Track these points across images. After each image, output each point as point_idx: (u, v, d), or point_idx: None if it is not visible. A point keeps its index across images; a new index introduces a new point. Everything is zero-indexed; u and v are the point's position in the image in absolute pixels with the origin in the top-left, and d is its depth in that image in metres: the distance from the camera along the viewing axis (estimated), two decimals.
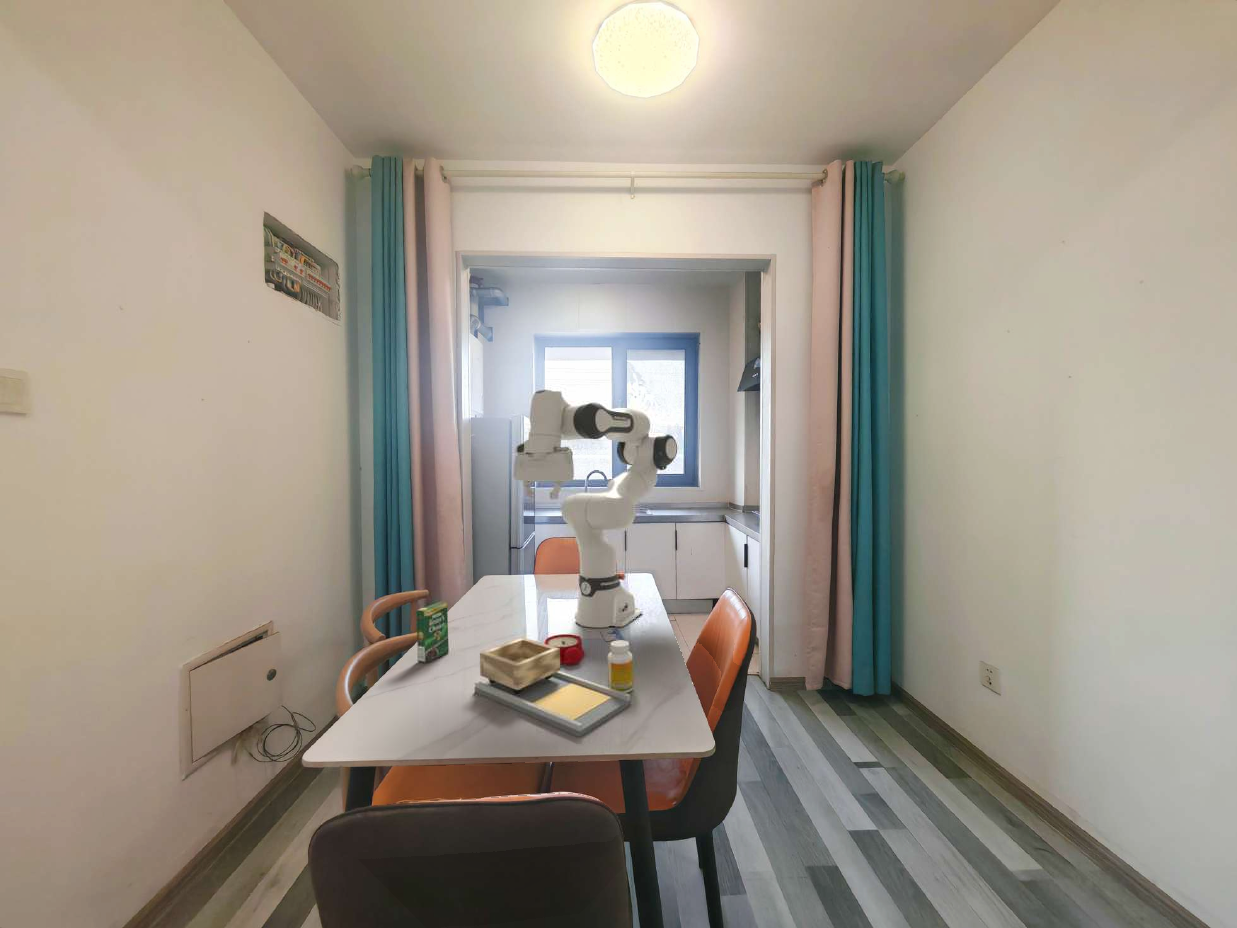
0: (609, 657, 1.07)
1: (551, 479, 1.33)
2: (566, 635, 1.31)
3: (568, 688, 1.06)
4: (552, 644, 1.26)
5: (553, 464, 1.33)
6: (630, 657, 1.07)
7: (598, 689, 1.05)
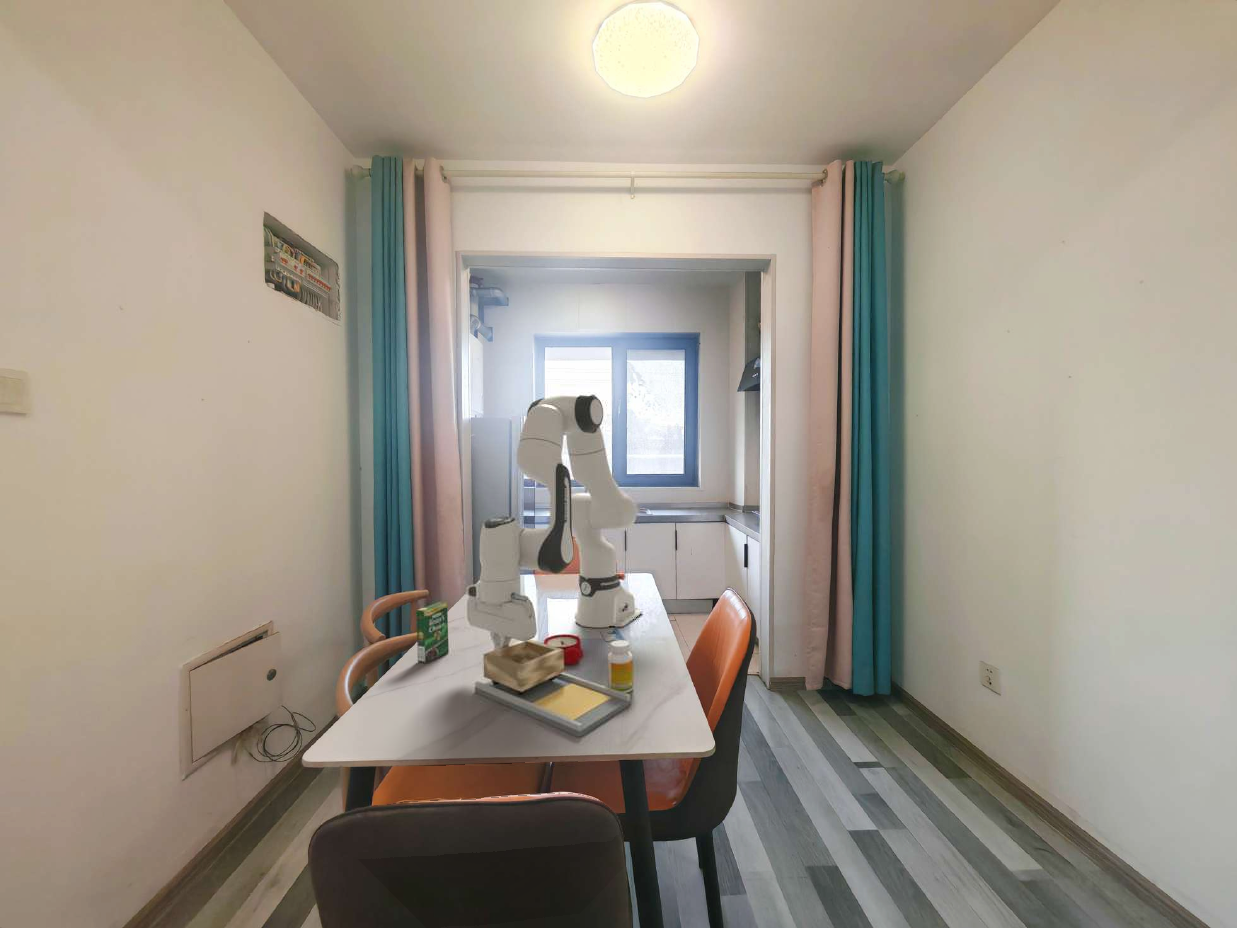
0: (609, 657, 1.07)
1: (510, 636, 1.09)
2: (565, 635, 1.31)
3: (568, 688, 1.06)
4: (551, 644, 1.26)
5: (510, 617, 1.09)
6: (630, 657, 1.07)
7: (598, 689, 1.05)
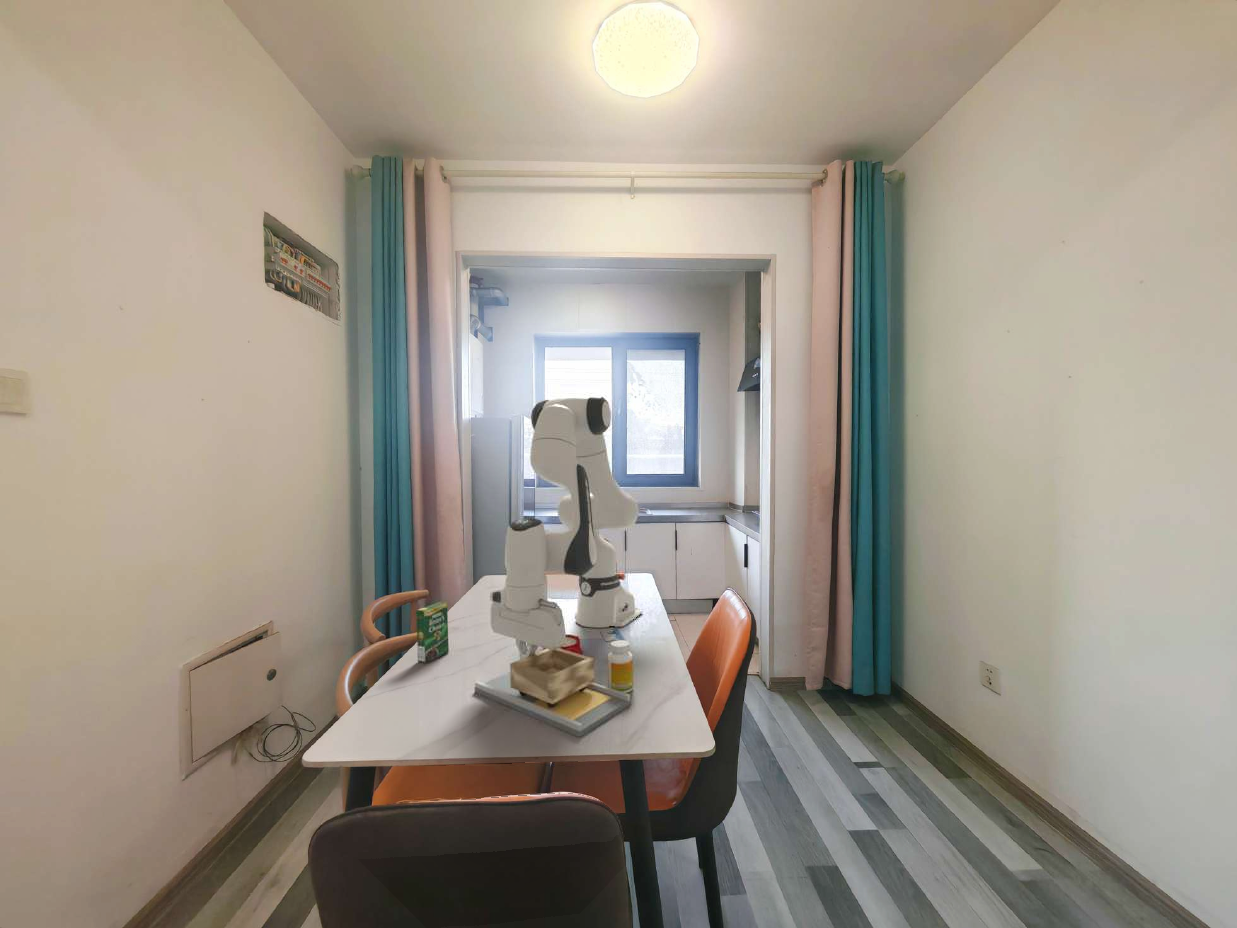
0: (609, 657, 1.07)
1: (537, 644, 1.04)
2: None
3: None
4: None
5: (538, 625, 1.04)
6: (630, 657, 1.07)
7: (598, 689, 1.05)
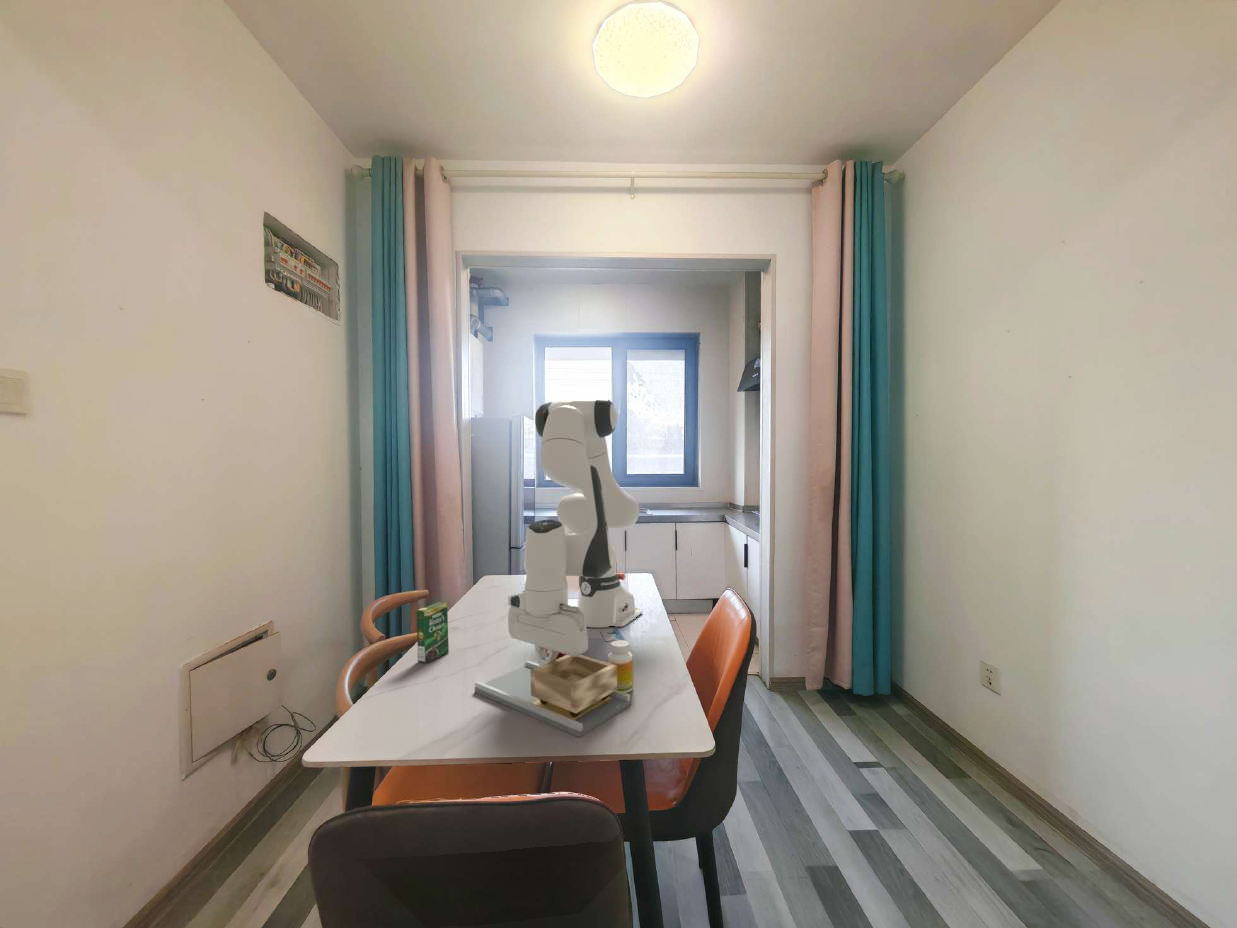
0: (609, 657, 1.07)
1: (558, 650, 1.00)
2: None
3: None
4: None
5: (559, 630, 1.00)
6: (630, 657, 1.07)
7: None
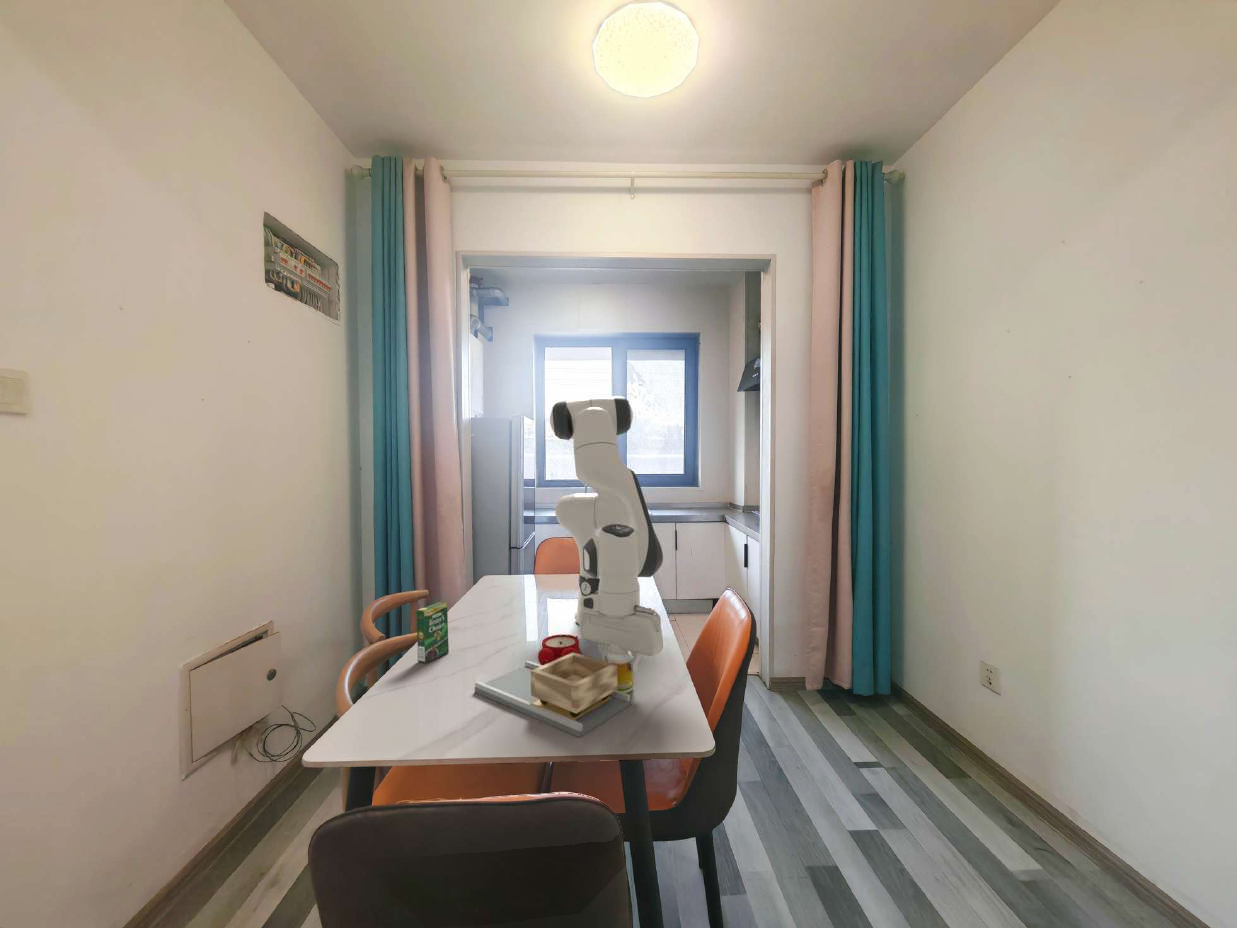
0: (609, 657, 1.07)
1: (634, 650, 1.03)
2: (564, 635, 1.31)
3: None
4: (549, 644, 1.26)
5: (635, 631, 1.04)
6: (630, 657, 1.07)
7: None
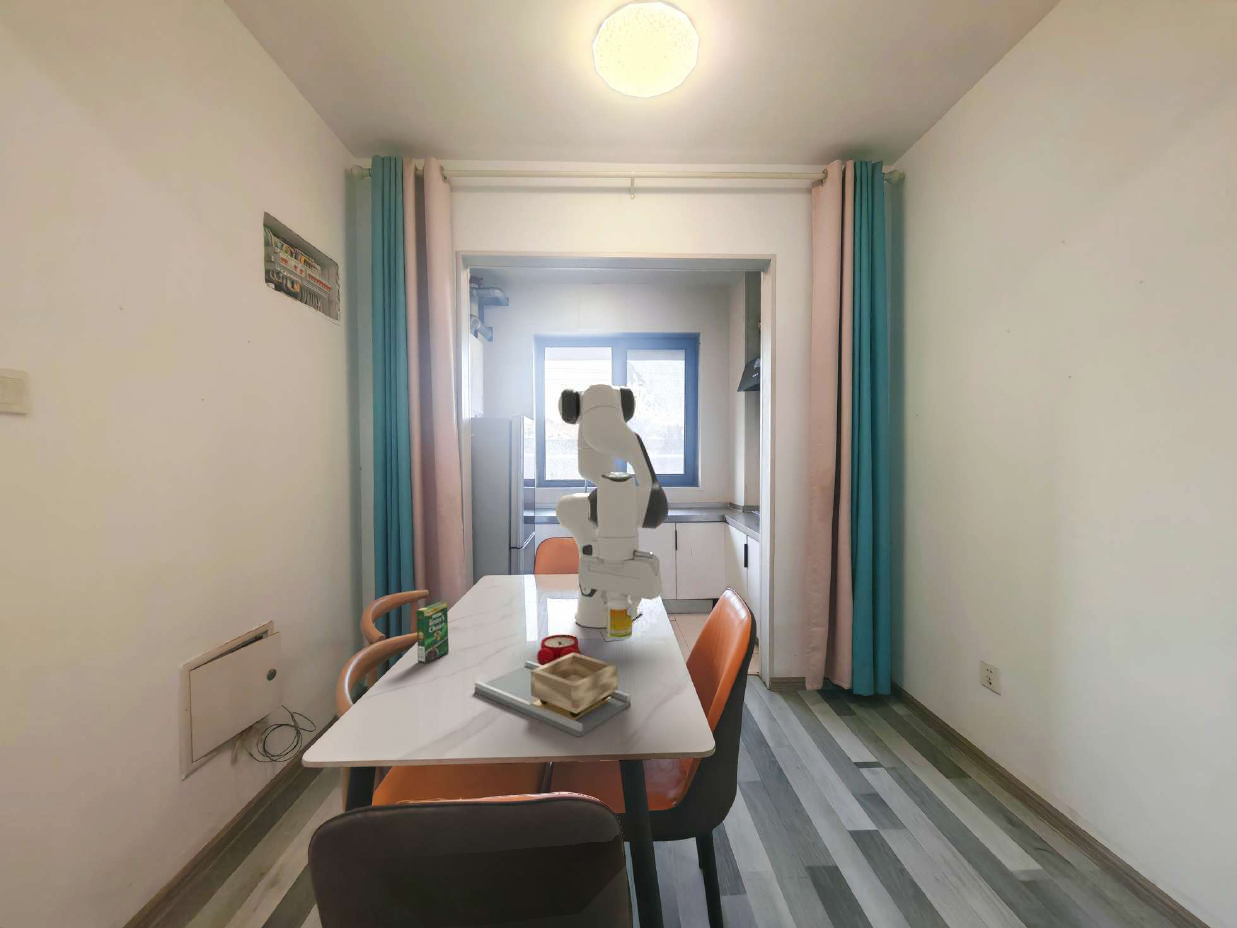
0: (608, 604, 1.07)
1: (633, 594, 1.03)
2: (563, 635, 1.31)
3: None
4: (548, 644, 1.26)
5: (634, 575, 1.03)
6: (629, 604, 1.07)
7: None
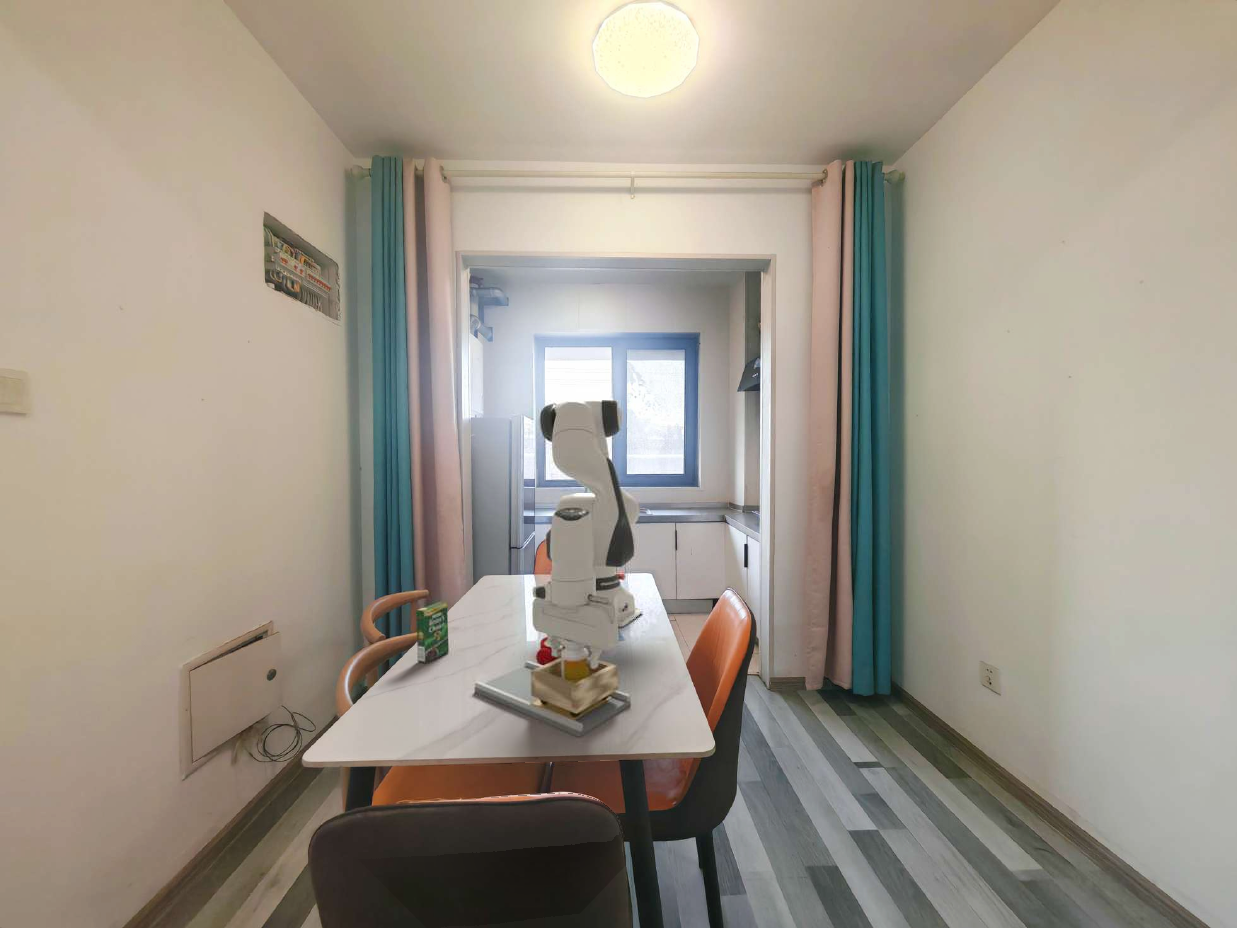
0: (562, 654, 0.99)
1: (587, 643, 0.95)
2: None
3: None
4: (548, 644, 1.26)
5: (588, 622, 0.95)
6: (585, 654, 0.99)
7: None
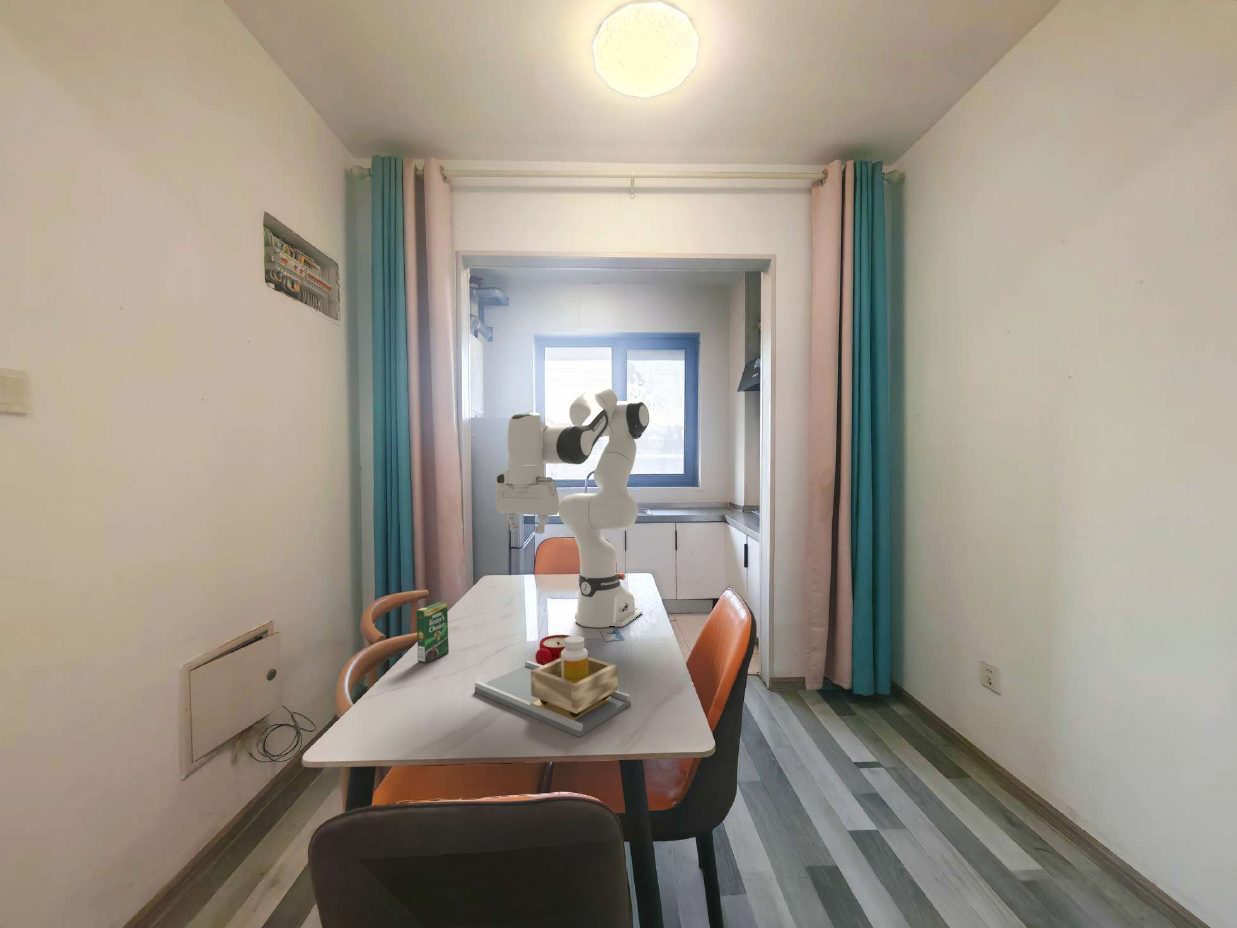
0: (562, 654, 0.99)
1: (535, 513, 1.23)
2: (561, 635, 1.31)
3: None
4: (547, 644, 1.26)
5: (536, 497, 1.23)
6: (585, 654, 0.99)
7: None
